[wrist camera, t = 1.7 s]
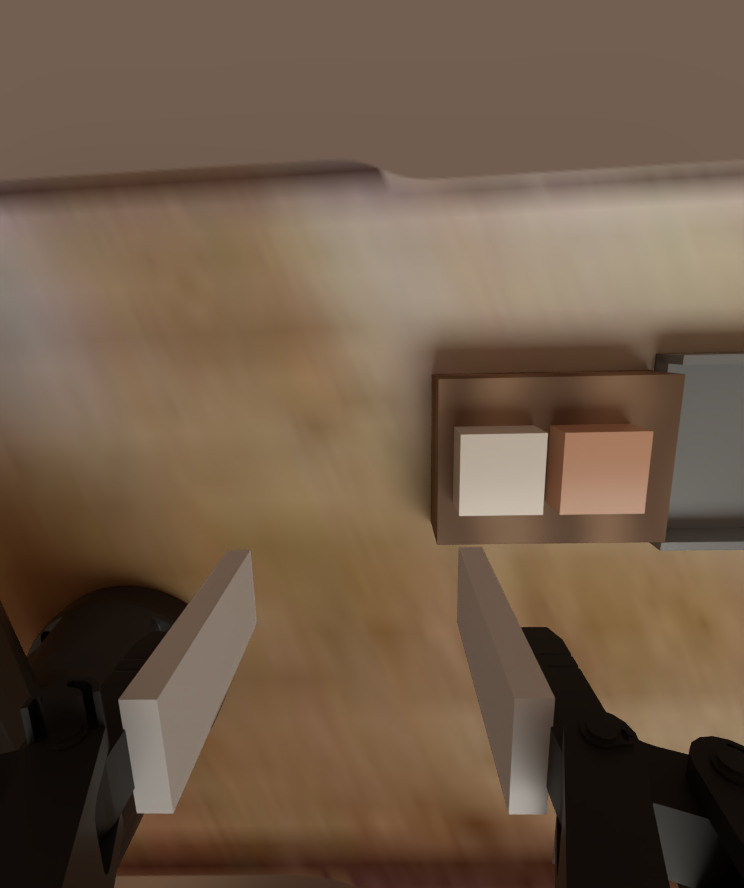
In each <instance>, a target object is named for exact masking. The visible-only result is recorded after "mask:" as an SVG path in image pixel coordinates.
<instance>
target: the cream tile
mask: <svg viewBox="0 0 744 888" xmlns="http://www.w3.org/2000/svg"><path fill="white" fill-rule="evenodd" d="M547 440H548V433H547V432H545V431H543V430H541V429H540V428H538V427H536V426H534V425H526V426H470V427H454V467H453V503H454V506H455V508H456V510H457V512H458V515H459V516H502V515H543V505H544V489H545V473H546V457H547Z"/></svg>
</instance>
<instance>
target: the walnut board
mask: <svg viewBox="0 0 744 888" xmlns="http://www.w3.org/2000/svg"><path fill="white" fill-rule="evenodd" d="M684 383H685V374H679V373H670V372H661V371H653V370H628V371H580V372H532V373H483V374H435V375H432V438H431V524H432V527H433V531H434V535H435V538H436V542H437V545H458V544H542V543H626V542H665V537H666V528H667V520H668V512H669V504H670V496H671V488H672V480H673V472H674V464H675V455H676V447H677V439H678V431H679V423H680V415H681V407H682V399H683V391H684ZM581 424H633V425H636V426H639V427H642V428H645V429H648V430H651V431H654V432H653V441H652V450H651V459H650V468H649V477H648V486H647V495H646V504H645V513H644V514H577V515H560V514H559V513H557V512H556V511H555V510H554V509H553V508H552V507H551V506H550V505H549V504H548V503H547V502H546V501H545V499H546V483H547V467H548V451H549V435H550V425H581ZM526 425H534V426H536V427H538V428H540V429H541V430H543V431H545V432H547V433H548V440H547V457H546V473H545V489H544V505H543V515H502V516H459V515H458V512H457V510H456V508H455V506H454V503H453V467H454V427H470V426H526Z"/></svg>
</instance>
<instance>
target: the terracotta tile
mask: <svg viewBox="0 0 744 888" xmlns="http://www.w3.org/2000/svg"><path fill="white" fill-rule="evenodd" d="M653 432H654V431H651V430H648V429H645V428H642V427H639V426H636V425H633V424H581V425H550V435H549V451H548V467H547V483H546V499H545V501H546V502H547V503H548V504H549V505H550V506H551V507H552V508H553V509H554V510H555V511H556V512H557V513H559V514H560V515H577V514H644V513H645V504H646V495H647V486H648V477H649V468H650V459H651V450H652V441H653Z"/></svg>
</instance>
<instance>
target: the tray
mask: <svg viewBox="0 0 744 888" xmlns="http://www.w3.org/2000/svg"><path fill="white" fill-rule="evenodd" d="M655 371H661V372H670V373H679V374H685V383H684V391H683V399H682V407H681V415H680V423H679V431H678V439H677V447H676V455H675V464H674V472H673V480H672V488H671V496H670V504H669V512H668V520H667V528H666V537H665V542H649V543H651V544H652V545H653V546H655V547H656V548H657V549H659V550H660V551H678V550H744V352H717V353H670V354H656V362H655Z"/></svg>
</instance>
